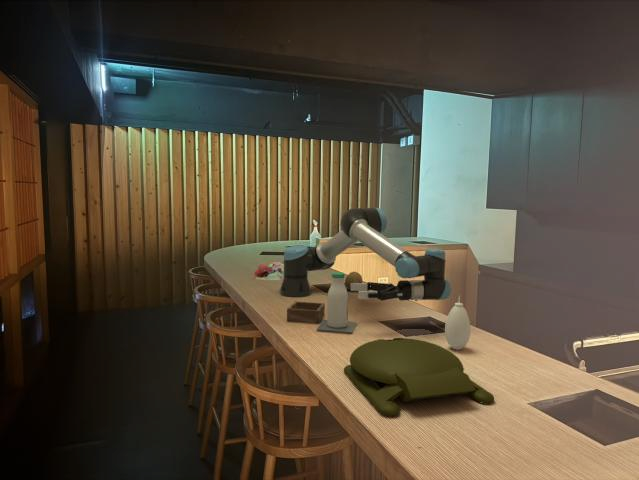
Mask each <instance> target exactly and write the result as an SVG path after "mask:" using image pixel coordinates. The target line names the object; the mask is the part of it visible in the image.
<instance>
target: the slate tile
mask: <svg viewBox="0 0 639 480" xmlns="http://www.w3.org/2000/svg"><path fill="white" fill-rule="evenodd" d="M356 326H357V321H350V320H349V321H348V324H347V326H346V327H343V328H333V327H329V326H328V325H327V319H322V320H321V321H320V323H319V324H318V326H317V328H316V332H320V333H333V334H343V335H345V334H347V335H353V333H354V330H355V328H356Z"/></svg>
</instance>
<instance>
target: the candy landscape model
mask: <svg viewBox="0 0 639 480" xmlns="http://www.w3.org/2000/svg"><path fill="white" fill-rule="evenodd" d="M257 267H258V268H257V269H255V271H254V274H253V279H254V280H259V281H271V282H272V281H273V280H274V281H275V282H276V280H278V281H283V279H284V260H282V261H281V262H280V261H278V262H277V261H273V262H272V261H268V262H266V265H264V264H259V265H258V266H257Z"/></svg>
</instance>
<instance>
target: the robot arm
mask: <svg viewBox="0 0 639 480" xmlns="http://www.w3.org/2000/svg"><path fill="white" fill-rule="evenodd" d="M387 224H388V220H387V215H386V213H385V211H384V210H383V209H381V208H378V207H353V208H350V209H348V210H346V211H345V212H344V213H343V214H342V216H341V218H340V228H341V230H340V231H338V232H337V233H336V234H335V235H333V236H332V237H331V238H329V239H328V240H327V241H322V242H319V243H318V244H316V245H314V247H308V246H307V245H302V244H300V245H293V246H288V247H287V248H285V250H283V251H284V254H283V261H284V279H283V280H282V282H281V286H280V289H279V293H280V295H281V296H283V297H284V296H285V297H289V298H300V297H301V298H302V297H308V296H310V295H311V294H312V293H311V292H312V288H311V286H310V282H309V279H308V274H309V273H308V272H314V271H324V270H328V269H330V268H333V266H334V265H335V263H336V259H337V256H339V255H340V254H342V253H343V252H345V251H346V250H347V249H349V248H351V247H352V246H353V245H355V244H356V243H357V242H359V243H361V244H362V245H363V246H365V247H366V248H367V249H369V250H370V251H372V252H373V253H375V254H376V255H378V256H379V257H380V258H382V259H383V260H385V262H387V263H389V264H390V265H391V266H393V267H394V268H395V272H396V273H397V276H398V277H400V278H402V279H401V280H399V281H398V282H397V285H395V284H393V283H391V282H390V283H385V282H371V281H367V283H365V282H364V283H363V282H362V283H358V284H351V289H350V291H351V292H358V294H357V295H358V296H357V297H358V300H379V301H387V300H388V301H389V300H394V299H399V301H415V302H418V301H425V300H426V301H427V300H428V301H441V300H442V301H443V300H447V299H449V298H450V296H451V293H452V288H451V287H452V286H451V283H450V281H449V280H447V279H445V272H446V262H447V261H446V251H445V250H444V249H442V248H441V249H440V248H427V249H426V250H425V251H424V254H423V255H414V254H412V253H410V252H409V251H408V250H406V249H405V248H403V247H401V245H399V244H397V243H396V242H394V241H393V240H391V239H390V238H388V237H386V236H385V235H383V234H382V233H384V232H385V231H386V229H387ZM419 277H423V278H424V279H418V280H417V279H413V278H419ZM403 279H405V280H403ZM406 279H409V280H406Z"/></svg>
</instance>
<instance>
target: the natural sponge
mask: <svg viewBox="0 0 639 480" xmlns="http://www.w3.org/2000/svg"><path fill="white" fill-rule="evenodd" d="M358 283H363V277H362V275H361V274H360V273H359V272H357V271H351V272H349V273H348V274H347V275H346V277H345V278H344V284H345V287H347V288H348V289H349V290H351V284H358Z"/></svg>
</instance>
